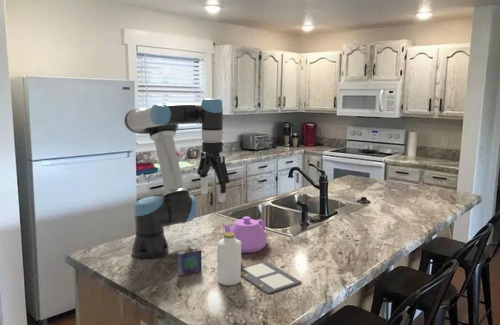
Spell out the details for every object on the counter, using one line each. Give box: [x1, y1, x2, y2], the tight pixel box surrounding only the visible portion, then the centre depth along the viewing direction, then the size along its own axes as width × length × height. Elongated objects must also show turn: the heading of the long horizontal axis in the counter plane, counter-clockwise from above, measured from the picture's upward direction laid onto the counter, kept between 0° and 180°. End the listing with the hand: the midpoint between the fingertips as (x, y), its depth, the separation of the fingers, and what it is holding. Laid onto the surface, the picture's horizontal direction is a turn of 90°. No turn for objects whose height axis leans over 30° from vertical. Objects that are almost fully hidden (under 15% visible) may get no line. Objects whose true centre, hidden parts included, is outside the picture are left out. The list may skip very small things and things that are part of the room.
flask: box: [177, 245, 202, 277], centre depth 156 cm, size 9×3×11 cm, turn 117°
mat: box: [241, 260, 302, 295], centre depth 154 cm, size 15×22×1 cm
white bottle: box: [217, 232, 242, 286], centre depth 148 cm, size 8×8×18 cm
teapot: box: [221, 216, 267, 254], centre depth 182 cm, size 25×18×14 cm
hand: (212, 197), depth 155 cm, fingers open, 13 cm apart
